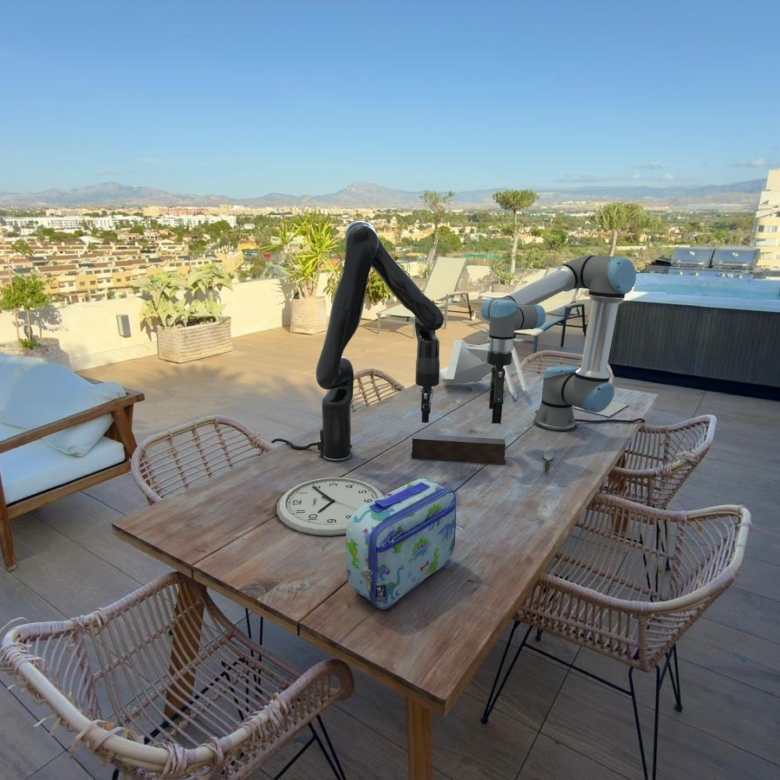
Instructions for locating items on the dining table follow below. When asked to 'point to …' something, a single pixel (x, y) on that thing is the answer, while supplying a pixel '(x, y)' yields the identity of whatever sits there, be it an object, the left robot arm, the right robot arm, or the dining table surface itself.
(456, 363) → the white plastic object
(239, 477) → the dining table surface
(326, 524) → the wall clock
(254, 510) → the dining table surface
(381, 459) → the dining table surface
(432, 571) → the lunch box
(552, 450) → the fork
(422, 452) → the walnut beam
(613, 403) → the invitation card
